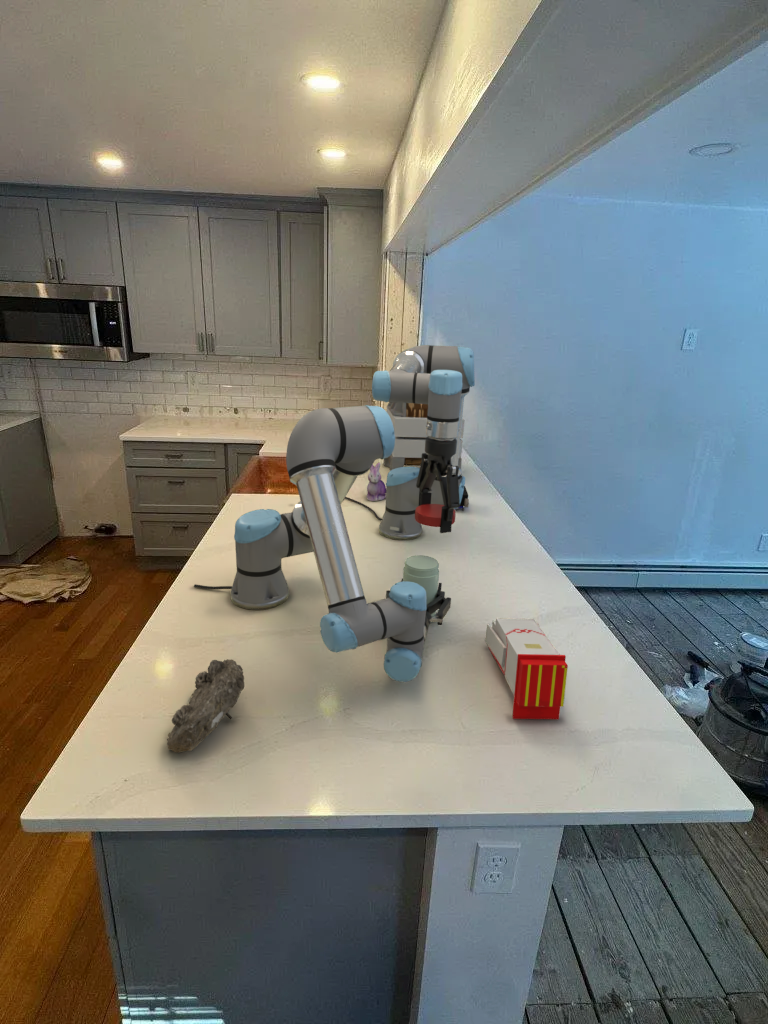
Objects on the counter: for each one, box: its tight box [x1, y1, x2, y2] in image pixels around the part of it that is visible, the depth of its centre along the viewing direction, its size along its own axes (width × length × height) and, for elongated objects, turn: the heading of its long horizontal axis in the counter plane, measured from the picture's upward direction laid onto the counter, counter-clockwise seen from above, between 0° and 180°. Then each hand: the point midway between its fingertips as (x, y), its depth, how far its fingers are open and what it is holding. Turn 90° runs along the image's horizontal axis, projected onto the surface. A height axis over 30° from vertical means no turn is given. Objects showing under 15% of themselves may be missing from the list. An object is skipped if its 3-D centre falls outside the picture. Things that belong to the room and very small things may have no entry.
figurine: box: [365, 462, 386, 502], centre depth 233 cm, size 9×10×15 cm
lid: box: [415, 504, 457, 528], centre depth 141 cm, size 10×10×2 cm
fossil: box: [166, 658, 245, 754], centre depth 106 cm, size 22×10×15 cm
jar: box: [402, 554, 440, 624], centre depth 144 cm, size 9×9×16 cm
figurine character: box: [454, 485, 470, 512], centre depth 229 cm, size 7×8×15 cm
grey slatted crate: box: [383, 402, 465, 472], centre depth 268 cm, size 34×33×41 cm
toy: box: [484, 617, 569, 720], centre depth 122 cm, size 12×13×30 cm
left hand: (421, 585), depth 149 cm, fingers closed on jar, 9 cm apart
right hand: (434, 524), depth 142 cm, fingers closed on lid, 10 cm apart
